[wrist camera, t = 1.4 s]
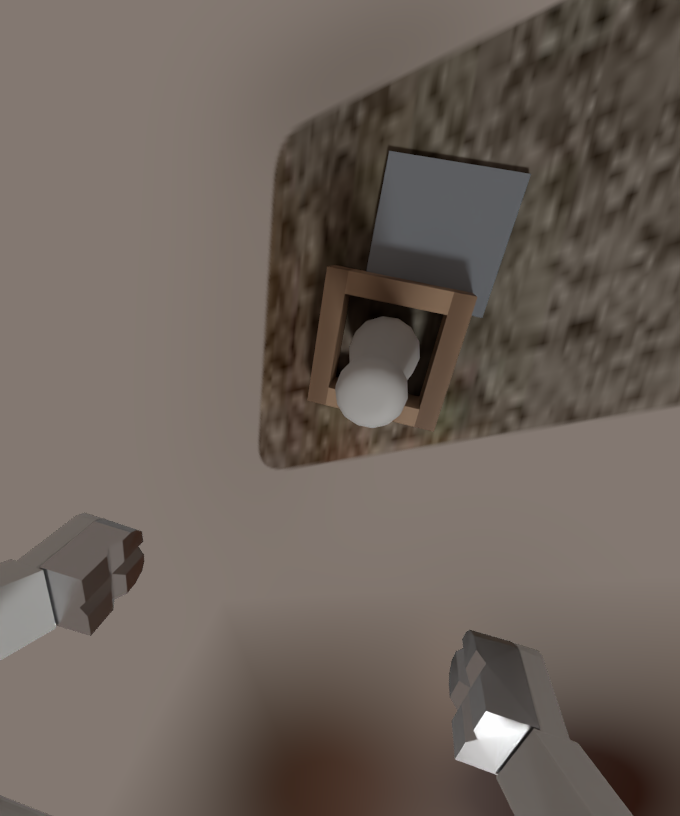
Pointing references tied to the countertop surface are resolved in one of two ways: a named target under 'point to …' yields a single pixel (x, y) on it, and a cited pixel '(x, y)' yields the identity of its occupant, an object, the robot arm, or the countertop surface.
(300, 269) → the countertop surface
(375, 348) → the salt shaker
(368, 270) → the slate mat
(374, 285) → the pocket frame
